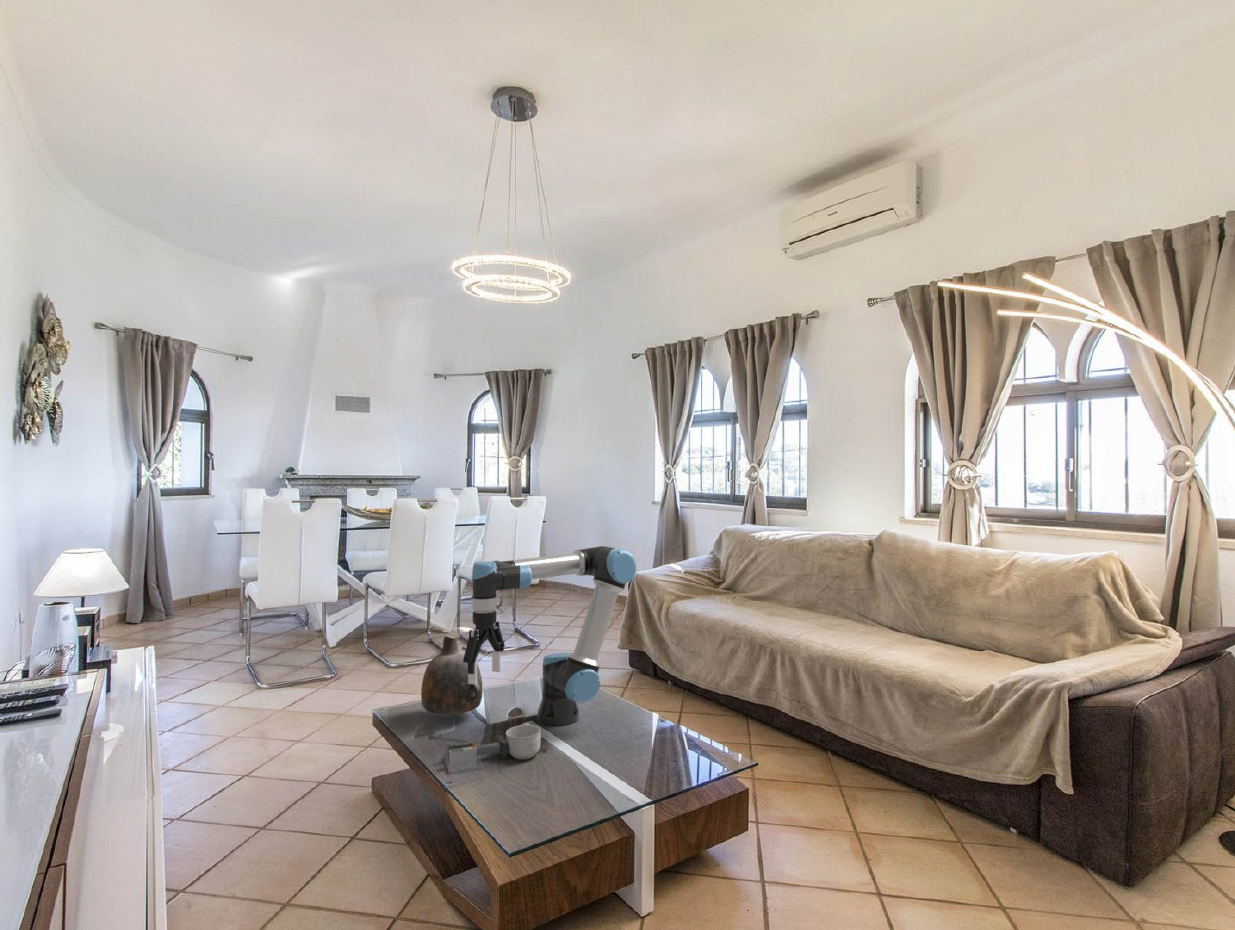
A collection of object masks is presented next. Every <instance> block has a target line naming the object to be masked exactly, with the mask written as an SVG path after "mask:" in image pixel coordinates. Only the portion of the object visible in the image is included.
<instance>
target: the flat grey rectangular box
mask: <svg viewBox="0 0 1235 930" xmlns="http://www.w3.org/2000/svg"><path fill="white" fill-rule="evenodd" d="M472 742H474V740H471V741H465V742H464V741H463V742H455V743H451V744H446V754H445V753H444V754H443V755H442V756H443V760H444V765H445V766H446V769H447V772H448V774H456V773H462V772H469V771H475V770H481V769H484V764H483V761H482V759H481V757H480V755H479V756H477V747H476V748H474V746H472ZM471 746H472V747H471ZM464 747H465V748H464Z"/></svg>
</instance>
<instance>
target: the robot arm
mask: <svg viewBox="0 0 1235 930" xmlns="http://www.w3.org/2000/svg"><path fill="white" fill-rule="evenodd" d="M471 571H472V573H471V575H472V576H471V583H472V584H471V585H472V588H471V589H472V611H473V612H472V624H473V625H475V628H474V629H469V631H468V639H467V643H466V646H465V648H466V651H465V655H464V659H463V662H465V663H468V684H477V664H478V663H475V661H476V662H477V659H478V656H479V653H480V650H481V649H482V645H483V644H485V642H486V641H488V642H489V645H491V648H492V649H493V651H491V660H492V661H491V663H492V664H491V667H492V668H491V669H492V670H491V671H492V672H496V673H500V672H501V671H502V670H501V665H502V664H501V663H502V662H501V660H502V659H501V657H502V656H501V652H504V650H505V647H506V646H505V642H504V638H503V635H502V632H501V628H500V622H499V621H497V611H496V610H497V608H498V607H497V591H499V592H500V591H509V590H518V589H519V590H522V589H527V588H529V587H530V586H531V585H532V581H533V580H536V579H537V580H539V579H544V578H545V579H546V578H553V577H559V576H561V577H562V576H567V575H576V576H578V577H581V576H591V577H593V579H592V581H593V583H594V585H595V587H594V589H593V593H592V596H591V598H590V602H589V605H588V608H587V611H586V615H585V617H584V621H583V624H582V626H581V630H580V633H579V636H578V640H577V642H576V644H575V648H574V651H573V652H556V653H549V654H546V655H545V656H544V657H543V659H542V697H541V701H540V703H539V706H538V710H537V718H536V719H537V720H538V722H539V723H542V724H545V725H549V726H564V725H565V726H566V725H571V724H573V723H576V722H577V721H578V720H579V719H580V710H579V705H578V703H579V704H584V703H587V702H589V701H591V700H593V699H594V698H595V697H596V696H597V694H598V693H599V691H600V689H601V679H600V676H599V674H598V673H599V672H600V671H599V670H600V667H601V666H600V662H599V661H598V660H599V656H600V653H601V650H602V646H603V643H604V640H605V638H606V633H607V631H608V627H609V625H610V621H611V618H612V614H613V612H614V607H615V605H616V602H617V600H618V599H617V598H618V595H619V593H622V592H623V591H625V588H626V585H627V583H629V582H630V581H633V579H634V578H635V576H636V574H637V561H636V560H635V557H634V556H633V555H632V553H630V552H629V550H625V549H623V548H619V547H609V546H604V545H600V546H593V547H588V548H587V547H586V548H583V549H582V548H581V549H576V550H574V551H573V553H572V552H571V553H565V554H564V553H562V554H556V555H554V554H553V555H547V556H545V555H544V556H538V557H537V556H536V557H530V558H529V557H528V558H521V559H520V558H519V559H512V560H504V561H502V560H501V561H500V560H490V561H478V562H475V563H473V565H472V570H471Z"/></svg>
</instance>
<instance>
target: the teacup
mask: <svg viewBox="0 0 1235 930" xmlns="http://www.w3.org/2000/svg"><path fill="white" fill-rule="evenodd" d="M541 732H542V731H541V727H540V726H538V725H535V724H530V723H529V722H524V724H520V725H519V724H518V725H515V726H512V727H510V728H508V729H507V730H506V732H505V735H506V736H505V737H506V739H505V741H506V742H507V754H509V755H510V756H511V757H513V758H514V759H516V760H529V759H531V758H533V757H534V756H535V755H536V754H537V753H538V752H539V751H540V749H541V744H542V743H541V742H542V741H541Z"/></svg>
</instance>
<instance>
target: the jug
mask: <svg viewBox="0 0 1235 930" xmlns="http://www.w3.org/2000/svg"><path fill="white" fill-rule="evenodd" d="M442 641H443V642H442V649H441V651H440V653H438V654H436V655H435V656H433V658H432V659H431V660H430V661H429V663H428V665H427V666H426V668H425V671H424V673H423V678H422V683H421V693H420V695H421V699H420V700H421V705H422V708H423V709H424V710H425V711H426V712H428V713H430V714H434V715H439V716H443V717H446V718H448V719H450V720H451V719H454V718H455V717H457V716H459V715H462V714H466V713H468V712H470V711H474V710H475V709H478V707H479V706H480V705H481V702H482V699H483V691H484V690H483V689H484V688H483V680H482V678H483V677H482V675H481V674H482V673H481V670H480V668H479V665H478V663H477V660H476V661H475V663H477V684H468V663H465V662H463V659H464V655H465V651H466V646H462V648H461V650H460V648H459V646H458V638H457V636H454V637H453V636H450V635H445V636H444V638H443V640H442Z"/></svg>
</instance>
